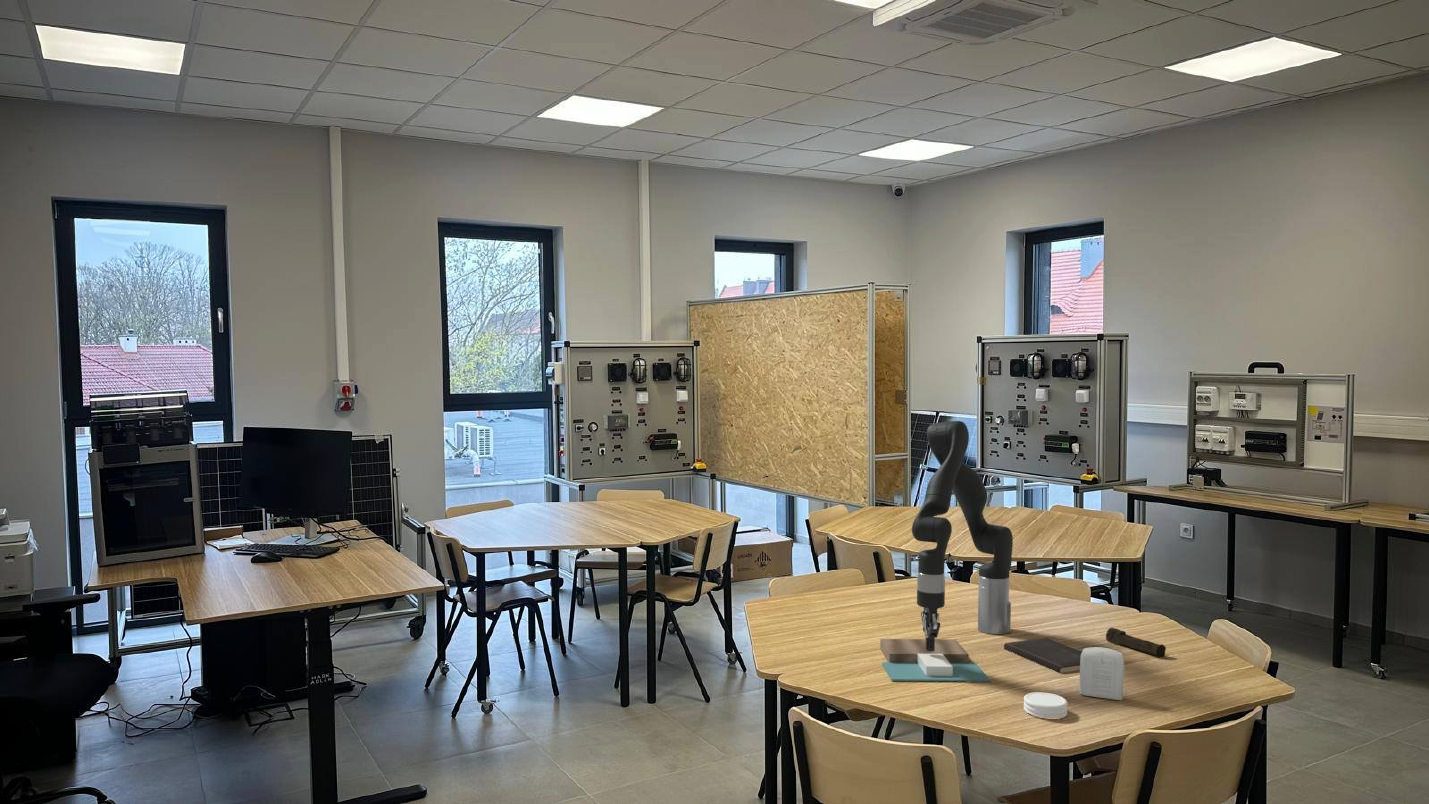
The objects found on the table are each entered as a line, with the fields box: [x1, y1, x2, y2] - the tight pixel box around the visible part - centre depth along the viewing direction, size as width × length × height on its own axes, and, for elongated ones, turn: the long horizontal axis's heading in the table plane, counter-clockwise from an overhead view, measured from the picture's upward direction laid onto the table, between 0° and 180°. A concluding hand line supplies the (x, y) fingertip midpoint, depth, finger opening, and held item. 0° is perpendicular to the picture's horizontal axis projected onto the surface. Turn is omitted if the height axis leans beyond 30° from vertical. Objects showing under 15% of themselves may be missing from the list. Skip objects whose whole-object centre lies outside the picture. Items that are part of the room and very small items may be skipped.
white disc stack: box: [1023, 691, 1069, 719], centre depth 225 cm, size 10×10×4 cm
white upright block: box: [1078, 646, 1125, 701], centre depth 235 cm, size 10×4×12 cm, turn 69°
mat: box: [881, 661, 991, 683], centre depth 253 cm, size 26×14×1 cm, turn 90°
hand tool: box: [1105, 627, 1167, 659], centre depth 276 cm, size 19×4×5 cm, turn 26°
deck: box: [879, 638, 970, 663], centre depth 267 cm, size 22×14×3 cm, turn 90°
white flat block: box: [917, 654, 953, 676], centre depth 254 cm, size 7×11×2 cm, turn 0°
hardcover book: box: [1003, 637, 1083, 674], centre depth 267 cm, size 16×23×2 cm
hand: (929, 650), depth 258 cm, fingers closed
